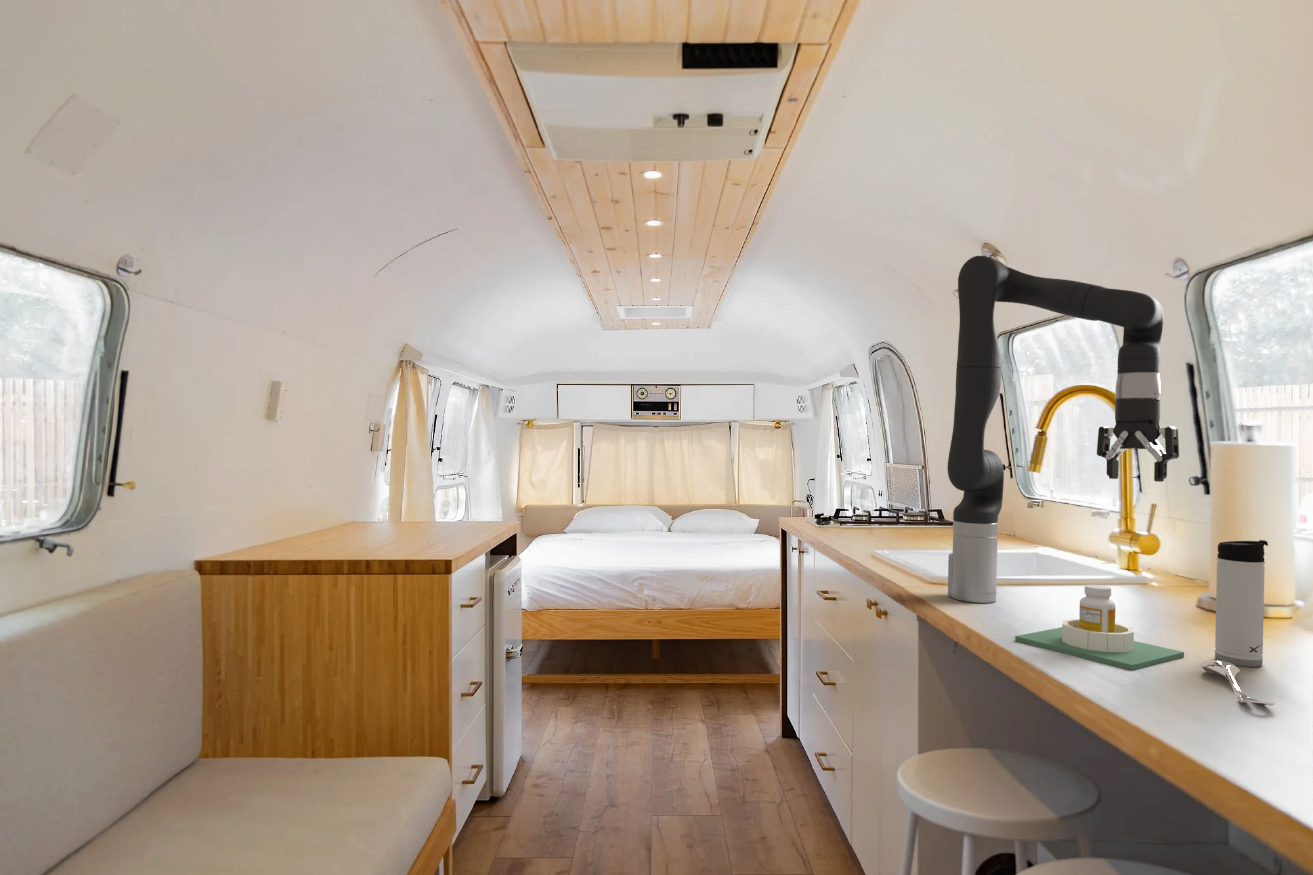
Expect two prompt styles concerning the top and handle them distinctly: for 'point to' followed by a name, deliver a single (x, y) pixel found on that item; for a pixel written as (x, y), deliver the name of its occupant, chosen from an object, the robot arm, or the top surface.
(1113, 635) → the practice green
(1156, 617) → the top surface
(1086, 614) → the supplement bottle
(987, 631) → the top surface
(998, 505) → the robot arm
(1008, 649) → the top surface
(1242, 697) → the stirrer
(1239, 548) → the travel mug
